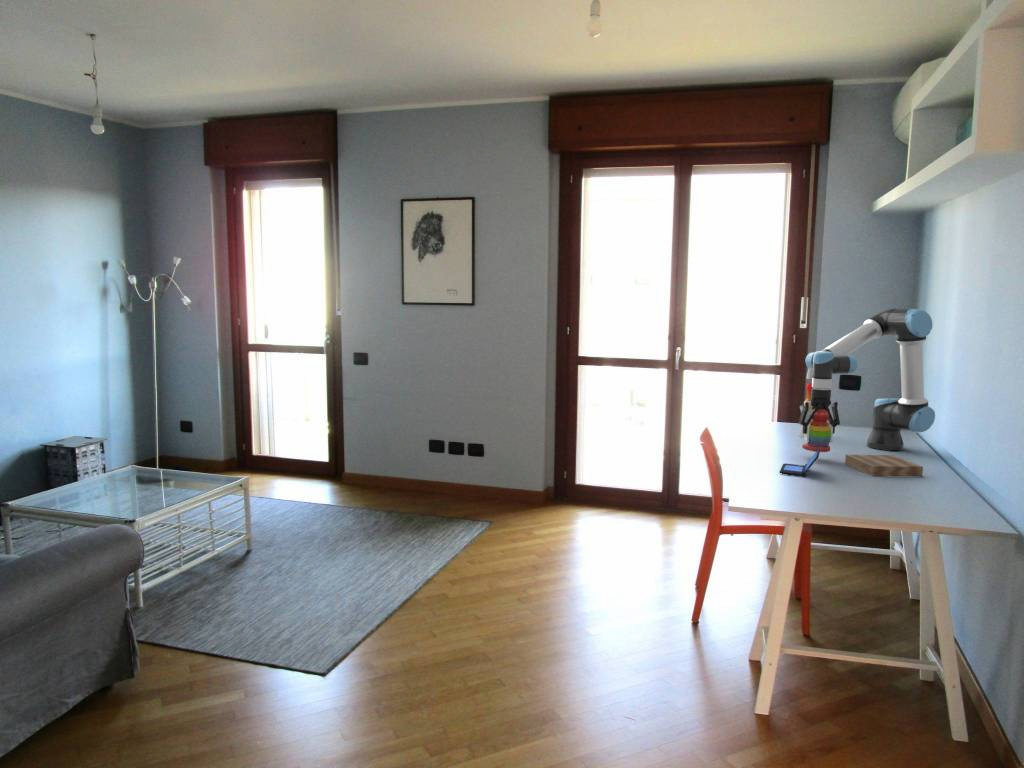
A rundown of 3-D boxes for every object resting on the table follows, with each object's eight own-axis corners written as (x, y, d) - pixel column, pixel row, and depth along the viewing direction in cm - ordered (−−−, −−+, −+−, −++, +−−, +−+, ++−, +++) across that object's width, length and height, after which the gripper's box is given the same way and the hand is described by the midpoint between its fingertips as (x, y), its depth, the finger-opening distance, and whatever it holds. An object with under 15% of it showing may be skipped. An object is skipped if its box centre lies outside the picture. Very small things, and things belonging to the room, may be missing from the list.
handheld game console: (783, 466, 286) (784, 444, 285) (818, 470, 281) (820, 447, 280) (779, 474, 273) (780, 451, 271) (816, 479, 267) (818, 455, 266)
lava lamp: (818, 438, 346) (824, 367, 342) (799, 437, 348) (804, 366, 344) (814, 435, 355) (820, 365, 351) (795, 434, 357) (800, 364, 352)
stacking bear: (826, 447, 303) (829, 406, 301) (835, 452, 293) (837, 410, 291) (800, 446, 304) (803, 405, 302) (808, 452, 294) (810, 409, 292)
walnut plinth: (892, 464, 293) (892, 455, 293) (922, 476, 274) (923, 466, 273) (845, 464, 292) (845, 454, 292) (871, 476, 273) (872, 466, 272)
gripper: (842, 387, 299) (838, 439, 302) (791, 387, 298) (788, 439, 301) (851, 389, 292) (848, 443, 295) (799, 389, 291) (796, 443, 294)
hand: (818, 441), depth 298 cm, fingers closed on stacking bear, 9 cm apart
